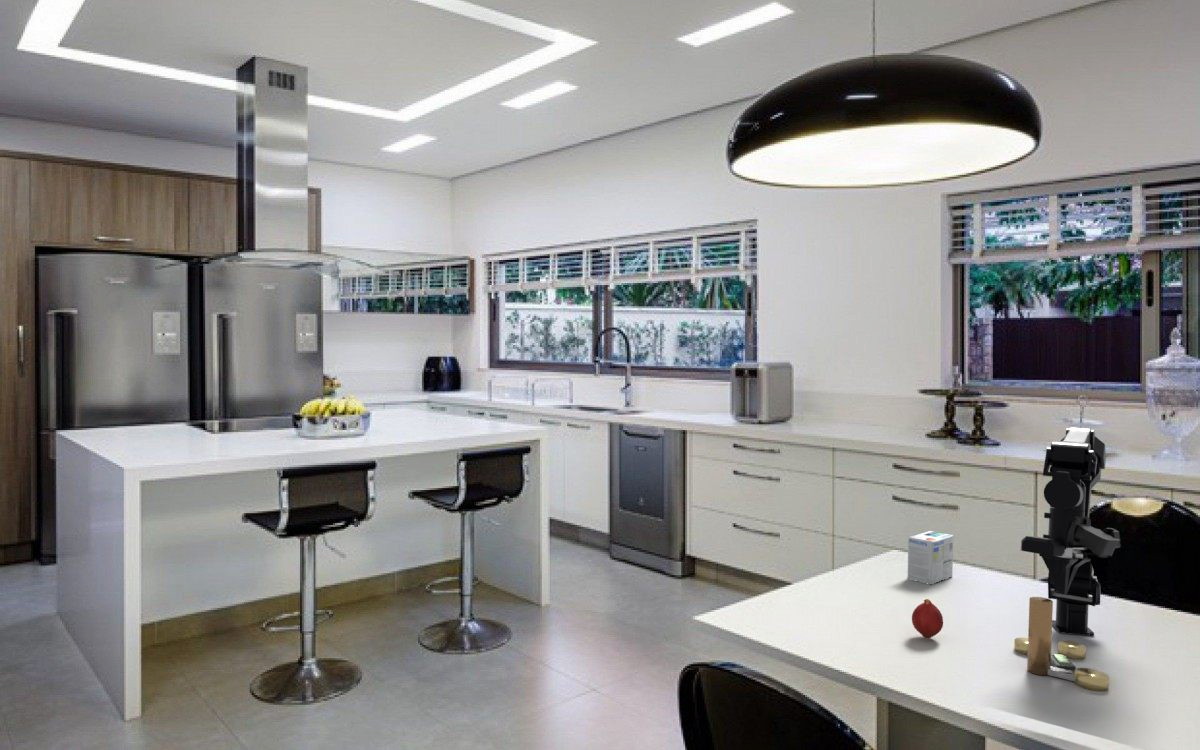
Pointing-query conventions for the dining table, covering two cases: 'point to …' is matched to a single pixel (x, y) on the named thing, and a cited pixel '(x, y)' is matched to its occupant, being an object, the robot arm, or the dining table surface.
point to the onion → (927, 619)
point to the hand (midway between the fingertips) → (1062, 593)
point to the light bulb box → (930, 557)
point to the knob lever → (1042, 649)
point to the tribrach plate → (1064, 652)
